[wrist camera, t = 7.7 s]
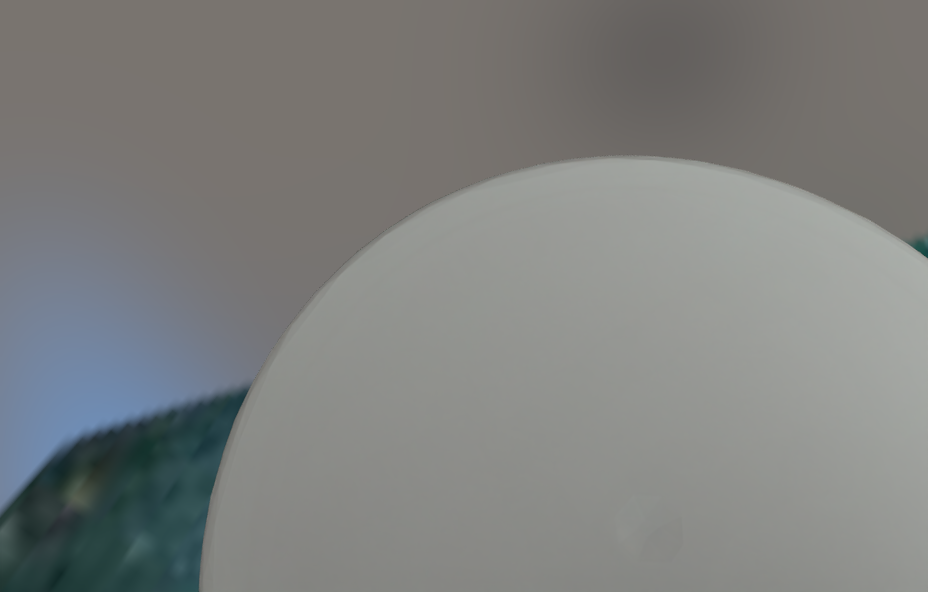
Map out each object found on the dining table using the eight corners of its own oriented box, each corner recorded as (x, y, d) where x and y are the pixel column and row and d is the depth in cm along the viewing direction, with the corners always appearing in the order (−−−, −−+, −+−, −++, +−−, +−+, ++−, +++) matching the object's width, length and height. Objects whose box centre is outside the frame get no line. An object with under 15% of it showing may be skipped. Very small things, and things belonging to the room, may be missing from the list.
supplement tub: (450, 400, 23) (357, 73, 10) (752, 471, 21) (1130, 194, 8) (354, 736, 19) (-21, 952, 6) (716, 857, 17) (1345, 1546, 4)
